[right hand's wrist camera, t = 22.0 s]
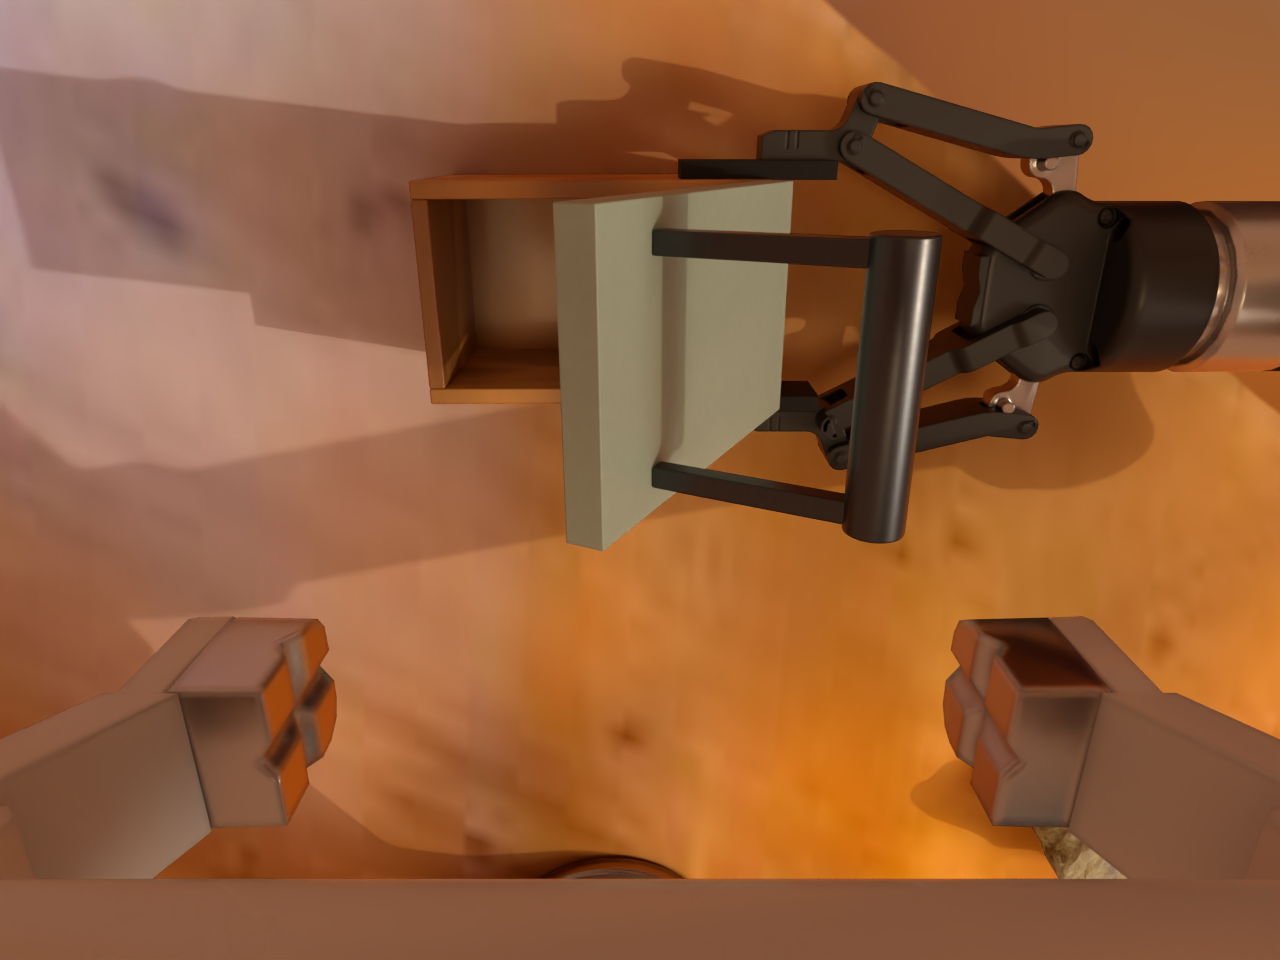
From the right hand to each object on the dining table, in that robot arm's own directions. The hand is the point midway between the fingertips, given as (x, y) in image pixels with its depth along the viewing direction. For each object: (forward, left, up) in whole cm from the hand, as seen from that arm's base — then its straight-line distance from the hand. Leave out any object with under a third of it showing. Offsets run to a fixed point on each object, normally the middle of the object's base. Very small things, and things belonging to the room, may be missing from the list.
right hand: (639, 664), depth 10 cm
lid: (+1, +1, -20) cm, 20 cm away
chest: (-1, -2, -36) cm, 36 cm away
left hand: (+1, +1, -29) cm, 29 cm away
